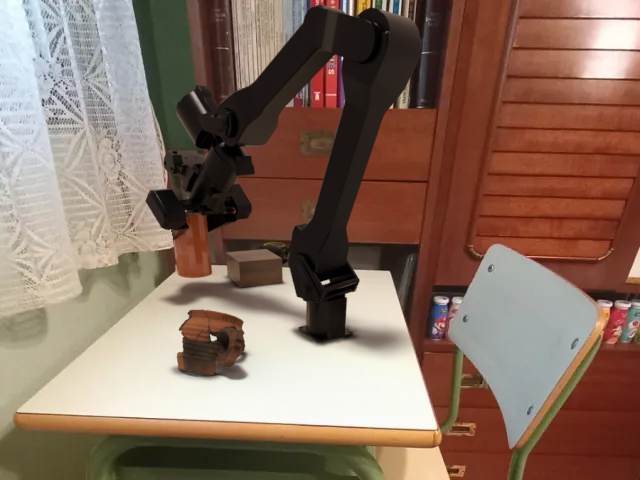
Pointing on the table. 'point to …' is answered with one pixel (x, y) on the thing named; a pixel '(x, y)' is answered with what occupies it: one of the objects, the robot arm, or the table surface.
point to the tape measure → (275, 249)
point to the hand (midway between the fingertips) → (186, 236)
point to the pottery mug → (198, 342)
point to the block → (254, 268)
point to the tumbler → (194, 249)
